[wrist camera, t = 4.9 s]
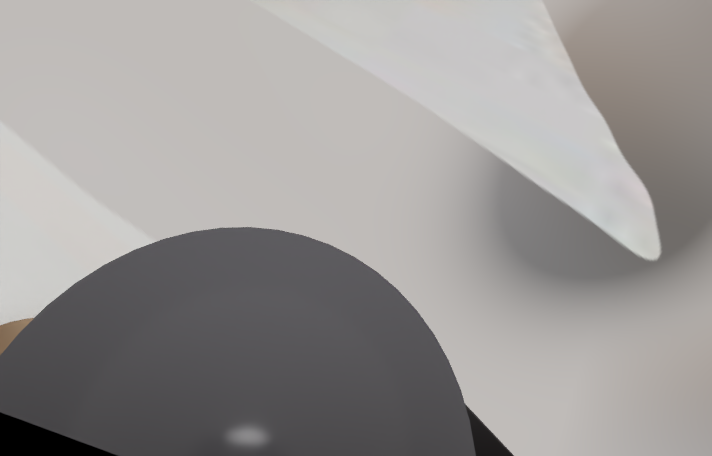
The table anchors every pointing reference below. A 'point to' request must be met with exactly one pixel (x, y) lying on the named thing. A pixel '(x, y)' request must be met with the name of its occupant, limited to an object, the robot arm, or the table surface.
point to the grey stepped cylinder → (231, 358)
